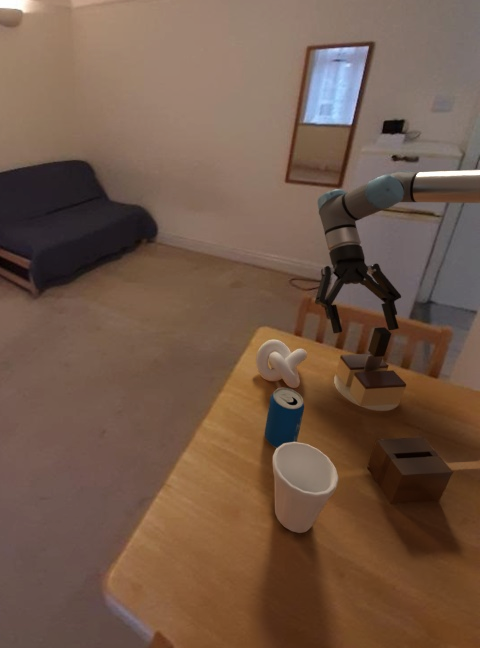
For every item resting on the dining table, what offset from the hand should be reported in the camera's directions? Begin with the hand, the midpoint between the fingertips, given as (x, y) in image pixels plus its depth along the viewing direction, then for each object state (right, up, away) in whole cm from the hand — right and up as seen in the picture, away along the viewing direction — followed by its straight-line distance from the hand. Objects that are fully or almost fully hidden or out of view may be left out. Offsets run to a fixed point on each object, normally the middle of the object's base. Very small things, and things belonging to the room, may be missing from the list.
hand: (365, 331), depth 97 cm
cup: (-28, -29, -24) cm, 47 cm away
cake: (+1, -14, +1) cm, 14 cm away
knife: (+1, -14, +1) cm, 14 cm away
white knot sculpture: (-19, -13, +7) cm, 24 cm away
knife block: (-5, -25, -20) cm, 33 cm away
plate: (+1, -15, +1) cm, 15 cm away
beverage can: (-25, -22, -10) cm, 34 cm away
